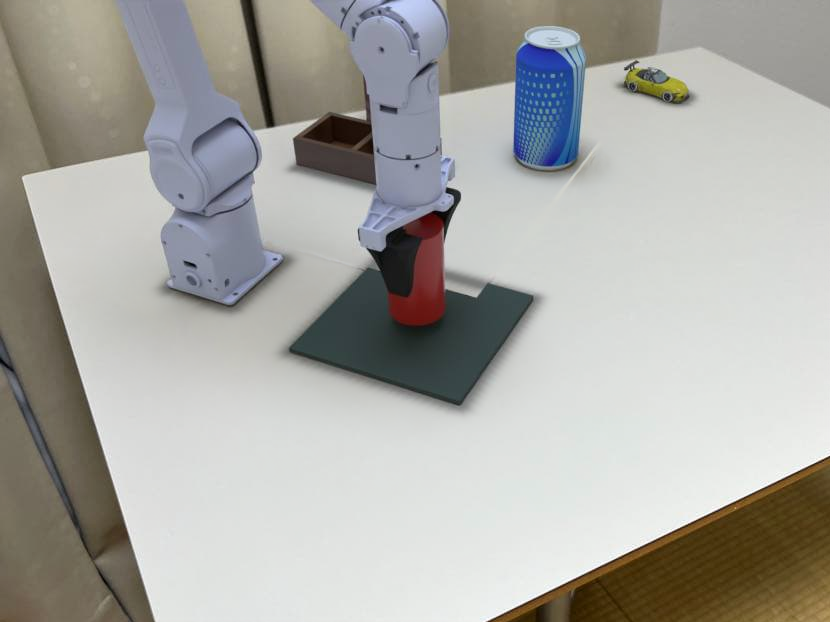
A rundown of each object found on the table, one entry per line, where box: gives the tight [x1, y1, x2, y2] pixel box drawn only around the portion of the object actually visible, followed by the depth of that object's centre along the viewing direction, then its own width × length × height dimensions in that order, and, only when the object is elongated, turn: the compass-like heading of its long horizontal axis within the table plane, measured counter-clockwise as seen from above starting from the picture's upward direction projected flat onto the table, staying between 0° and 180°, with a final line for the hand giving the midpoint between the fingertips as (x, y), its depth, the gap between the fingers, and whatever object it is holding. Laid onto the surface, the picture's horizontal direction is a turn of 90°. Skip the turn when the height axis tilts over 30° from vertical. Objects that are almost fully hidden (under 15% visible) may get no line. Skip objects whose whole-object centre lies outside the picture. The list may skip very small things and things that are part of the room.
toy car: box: [622, 59, 691, 104], centre depth 133 cm, size 5×10×3 cm, turn 57°
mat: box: [288, 267, 534, 405], centre depth 89 cm, size 18×18×1 cm
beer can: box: [512, 25, 587, 171], centre depth 110 cm, size 8×8×16 cm
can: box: [387, 212, 446, 326], centre depth 85 cm, size 6×6×10 cm
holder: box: [292, 111, 443, 186], centre depth 111 cm, size 8×16×4 cm, turn 68°
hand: (414, 276), depth 85 cm, fingers closed on can, 5 cm apart
